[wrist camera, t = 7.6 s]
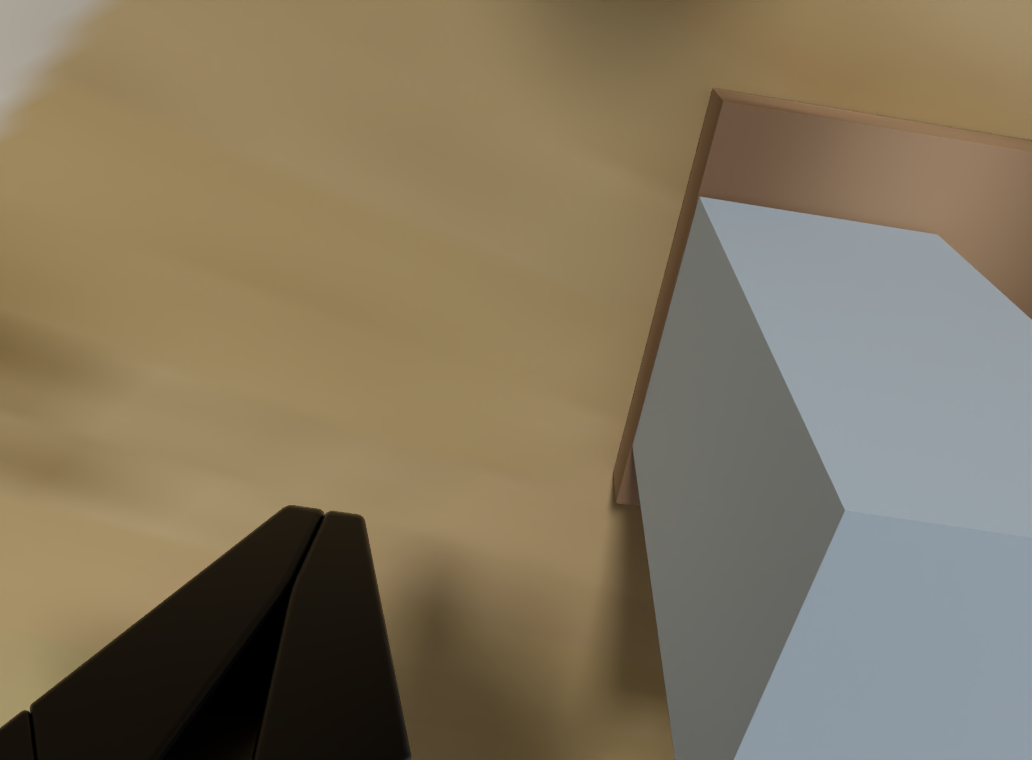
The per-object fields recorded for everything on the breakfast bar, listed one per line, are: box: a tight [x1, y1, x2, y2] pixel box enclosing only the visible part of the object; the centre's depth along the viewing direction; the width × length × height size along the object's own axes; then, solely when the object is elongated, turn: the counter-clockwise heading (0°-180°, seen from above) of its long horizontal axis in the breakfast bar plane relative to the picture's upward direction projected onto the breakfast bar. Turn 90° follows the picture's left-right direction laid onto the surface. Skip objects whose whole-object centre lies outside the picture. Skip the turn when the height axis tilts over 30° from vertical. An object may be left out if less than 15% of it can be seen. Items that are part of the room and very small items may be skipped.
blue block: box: [633, 197, 1032, 760], centre depth 12 cm, size 4×5×8 cm
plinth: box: [613, 88, 1032, 507], centre depth 15 cm, size 12×8×3 cm, turn 82°
